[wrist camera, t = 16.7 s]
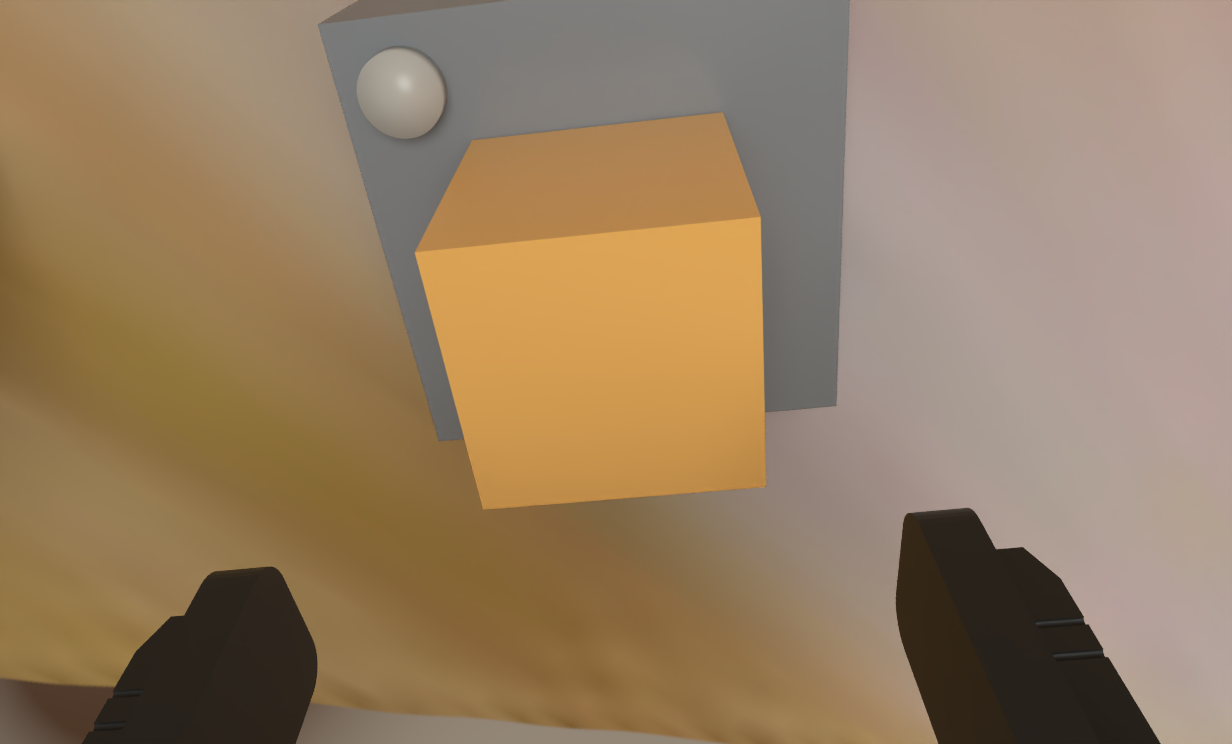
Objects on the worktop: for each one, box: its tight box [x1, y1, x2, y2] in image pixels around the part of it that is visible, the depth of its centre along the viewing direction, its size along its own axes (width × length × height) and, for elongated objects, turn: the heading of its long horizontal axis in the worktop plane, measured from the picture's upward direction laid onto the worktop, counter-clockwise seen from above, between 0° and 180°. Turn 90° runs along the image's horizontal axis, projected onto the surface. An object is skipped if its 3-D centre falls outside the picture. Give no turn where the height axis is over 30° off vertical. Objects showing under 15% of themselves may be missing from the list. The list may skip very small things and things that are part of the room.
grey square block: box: [318, 0, 850, 441], centre depth 22 cm, size 11×11×6 cm
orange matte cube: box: [415, 112, 766, 510], centre depth 17 cm, size 6×6×6 cm
